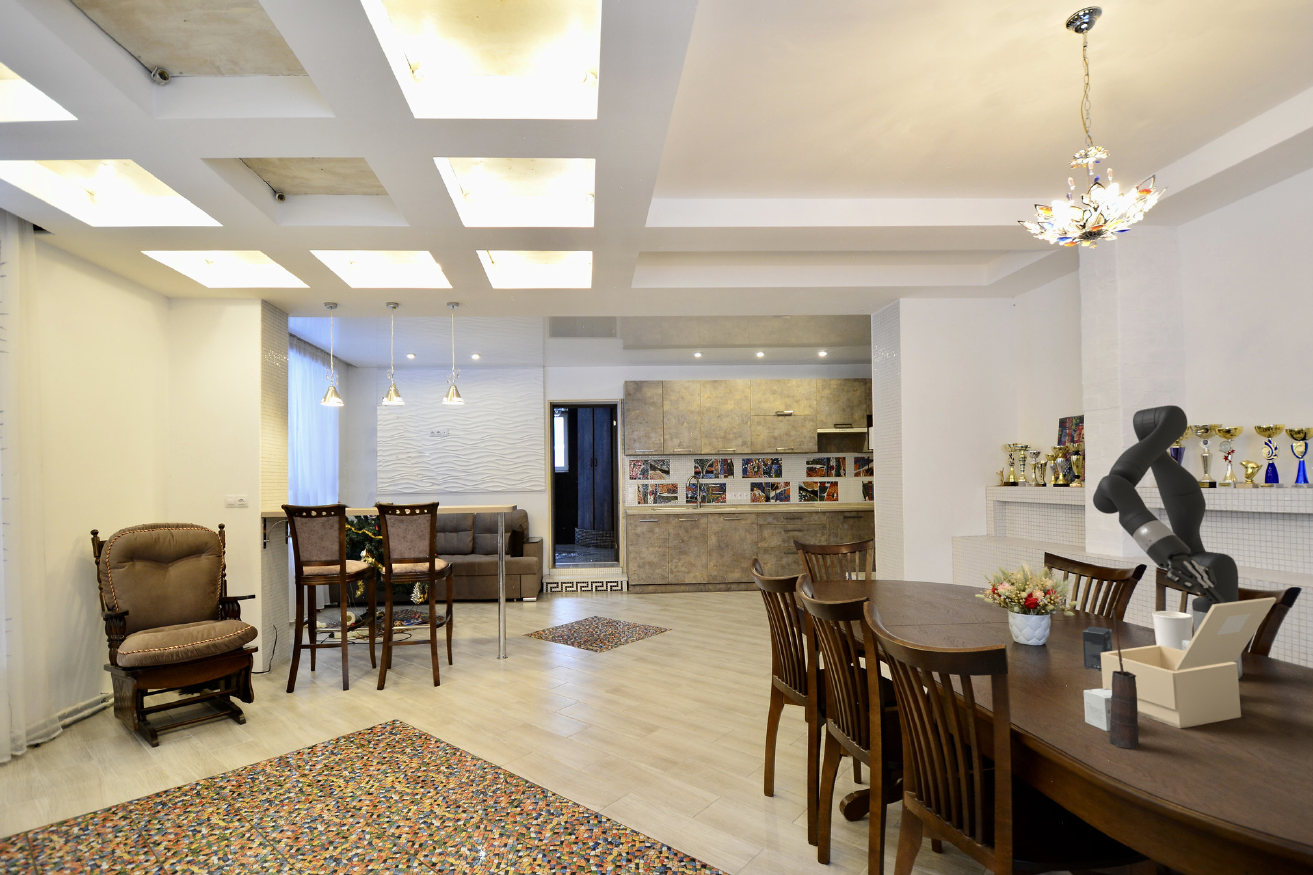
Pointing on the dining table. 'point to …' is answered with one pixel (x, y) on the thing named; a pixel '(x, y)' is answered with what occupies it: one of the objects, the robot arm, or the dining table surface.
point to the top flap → (1224, 632)
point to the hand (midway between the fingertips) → (1220, 604)
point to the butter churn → (1123, 704)
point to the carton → (1176, 686)
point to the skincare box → (1098, 707)
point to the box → (1096, 646)
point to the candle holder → (1172, 628)
